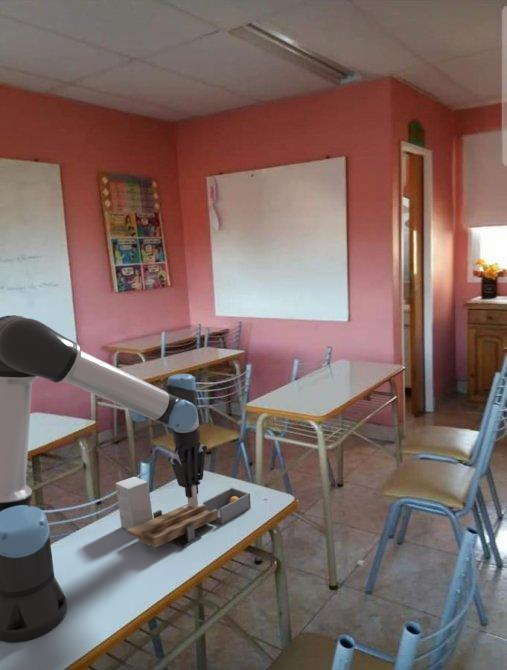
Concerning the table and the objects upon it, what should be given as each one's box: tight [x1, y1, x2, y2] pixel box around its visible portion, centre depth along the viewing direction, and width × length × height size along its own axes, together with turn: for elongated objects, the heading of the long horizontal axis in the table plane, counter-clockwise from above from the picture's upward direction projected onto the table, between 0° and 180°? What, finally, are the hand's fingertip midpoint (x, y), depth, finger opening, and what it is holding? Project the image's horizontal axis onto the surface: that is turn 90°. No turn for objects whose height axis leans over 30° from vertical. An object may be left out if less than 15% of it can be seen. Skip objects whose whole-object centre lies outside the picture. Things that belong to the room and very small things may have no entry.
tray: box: [202, 487, 252, 525], centre depth 162 cm, size 12×7×4 cm, turn 138°
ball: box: [229, 496, 239, 504], centre depth 164 cm, size 3×3×3 cm
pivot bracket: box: [152, 509, 202, 548], centre depth 151 cm, size 6×15×4 cm, turn 48°
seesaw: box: [126, 503, 218, 548], centre depth 151 cm, size 22×12×2 cm, turn 138°
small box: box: [115, 476, 154, 530], centre depth 155 cm, size 8×6×13 cm
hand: (193, 506), depth 160 cm, fingers closed
